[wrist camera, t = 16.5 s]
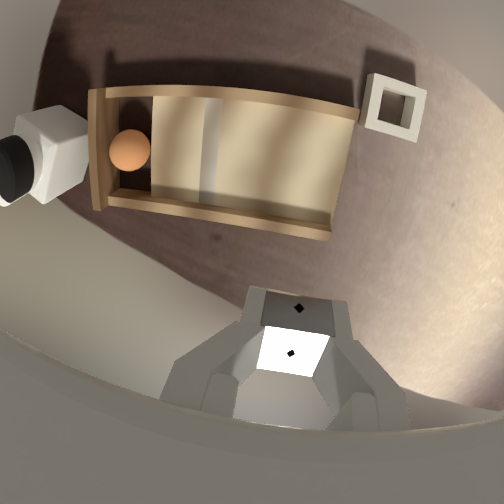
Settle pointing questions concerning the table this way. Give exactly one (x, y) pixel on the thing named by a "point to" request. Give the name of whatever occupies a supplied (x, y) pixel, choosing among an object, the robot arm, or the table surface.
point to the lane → (229, 156)
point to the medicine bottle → (43, 155)
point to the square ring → (410, 111)
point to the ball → (129, 150)
